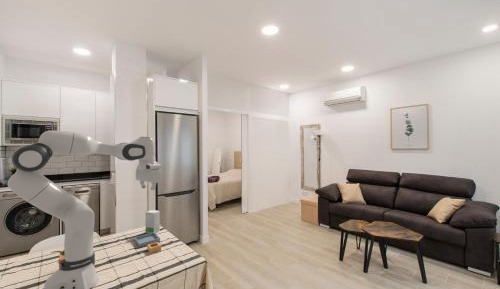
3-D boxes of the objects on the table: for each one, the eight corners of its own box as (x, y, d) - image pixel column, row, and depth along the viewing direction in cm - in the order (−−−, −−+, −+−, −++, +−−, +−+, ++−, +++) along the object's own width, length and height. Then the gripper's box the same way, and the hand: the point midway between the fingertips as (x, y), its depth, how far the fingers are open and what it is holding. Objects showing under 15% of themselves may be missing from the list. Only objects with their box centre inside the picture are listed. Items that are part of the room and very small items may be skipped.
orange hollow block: (150, 253, 140) (150, 248, 140) (146, 248, 147) (146, 243, 147) (161, 250, 144) (161, 245, 144) (157, 245, 151) (156, 240, 151)
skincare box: (145, 232, 172) (144, 212, 172) (151, 229, 178) (150, 209, 178) (154, 234, 169) (154, 213, 169) (160, 230, 176) (160, 210, 175)
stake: (152, 251, 142) (152, 245, 142) (151, 249, 145) (150, 244, 145) (157, 249, 144) (157, 244, 144) (155, 248, 147) (155, 242, 147)
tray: (139, 247, 148) (139, 243, 148) (134, 240, 158) (134, 237, 158) (160, 241, 156) (160, 238, 156) (154, 235, 166) (154, 232, 166)
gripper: (132, 164, 135) (133, 188, 135) (152, 166, 123) (153, 192, 123) (142, 163, 140) (143, 186, 140) (162, 165, 128) (163, 189, 129)
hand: (148, 189), depth 132 cm, fingers open, 8 cm apart
